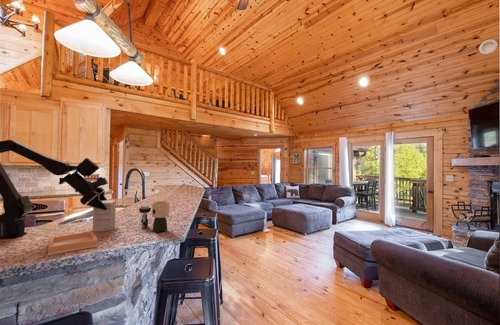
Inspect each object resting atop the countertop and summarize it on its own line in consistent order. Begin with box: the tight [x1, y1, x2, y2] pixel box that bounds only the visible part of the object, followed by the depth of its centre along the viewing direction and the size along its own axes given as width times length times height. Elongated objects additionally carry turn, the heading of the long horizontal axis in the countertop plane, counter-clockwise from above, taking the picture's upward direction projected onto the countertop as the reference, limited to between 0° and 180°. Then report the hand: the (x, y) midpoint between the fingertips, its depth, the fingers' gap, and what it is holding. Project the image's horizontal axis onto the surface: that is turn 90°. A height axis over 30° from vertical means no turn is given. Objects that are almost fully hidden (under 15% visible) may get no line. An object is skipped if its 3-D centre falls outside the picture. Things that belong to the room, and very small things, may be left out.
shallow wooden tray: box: [47, 230, 99, 256], centre depth 82 cm, size 13×13×2 cm
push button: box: [138, 205, 152, 229], centre depth 107 cm, size 7×5×10 cm
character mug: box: [151, 200, 170, 233], centre depth 102 cm, size 11×7×13 cm, turn 24°
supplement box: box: [92, 199, 117, 232], centre depth 103 cm, size 7×7×13 cm
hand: (108, 207), depth 104 cm, fingers open, 9 cm apart
